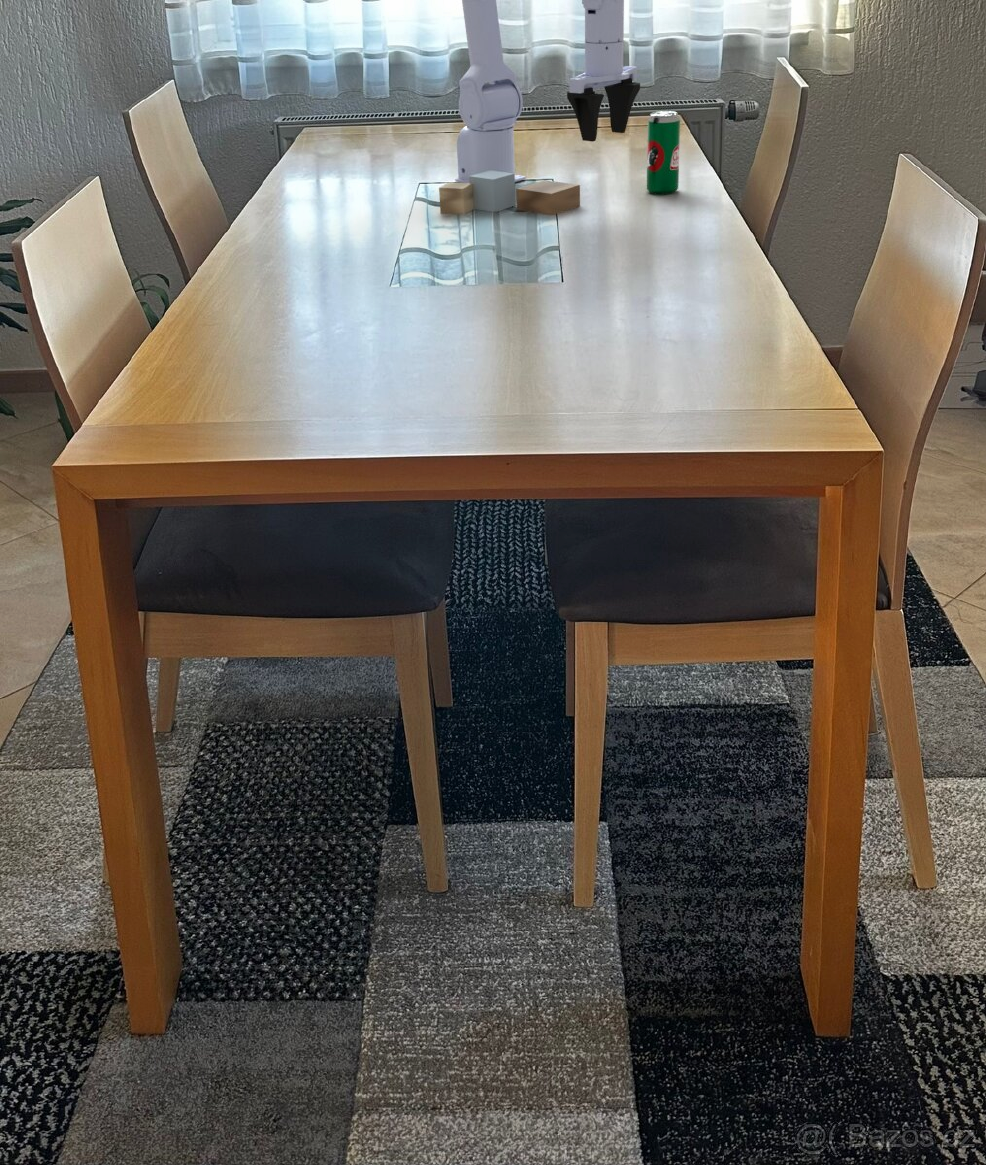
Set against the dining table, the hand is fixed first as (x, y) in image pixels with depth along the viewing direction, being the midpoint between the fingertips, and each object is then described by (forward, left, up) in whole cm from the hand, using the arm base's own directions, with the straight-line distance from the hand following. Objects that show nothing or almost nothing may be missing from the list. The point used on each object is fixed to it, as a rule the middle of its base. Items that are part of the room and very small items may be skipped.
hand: (603, 136), depth 198 cm
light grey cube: (-13, -12, -10) cm, 20 cm away
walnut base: (-5, -8, -10) cm, 14 cm away
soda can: (+4, +10, -10) cm, 15 cm away
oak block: (-16, -17, -10) cm, 25 cm away
